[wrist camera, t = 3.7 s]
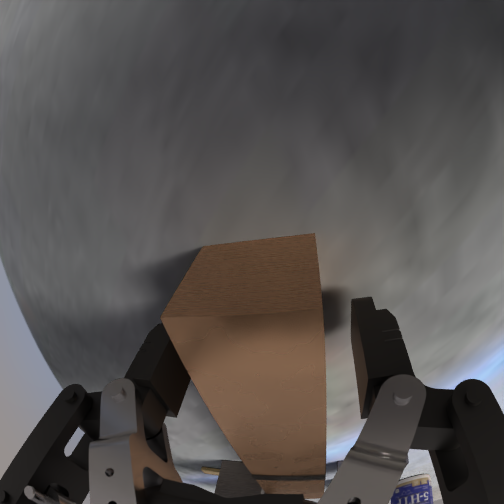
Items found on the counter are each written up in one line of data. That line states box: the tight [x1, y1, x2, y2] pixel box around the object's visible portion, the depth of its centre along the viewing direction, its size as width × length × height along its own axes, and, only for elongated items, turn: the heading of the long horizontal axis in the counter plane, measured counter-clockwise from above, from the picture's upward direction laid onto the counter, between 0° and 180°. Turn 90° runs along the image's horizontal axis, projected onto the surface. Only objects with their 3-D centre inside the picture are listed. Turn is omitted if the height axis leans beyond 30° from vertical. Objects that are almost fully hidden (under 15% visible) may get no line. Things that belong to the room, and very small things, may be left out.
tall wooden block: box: [160, 233, 326, 499], centre depth 13 cm, size 19×4×4 cm, turn 11°
